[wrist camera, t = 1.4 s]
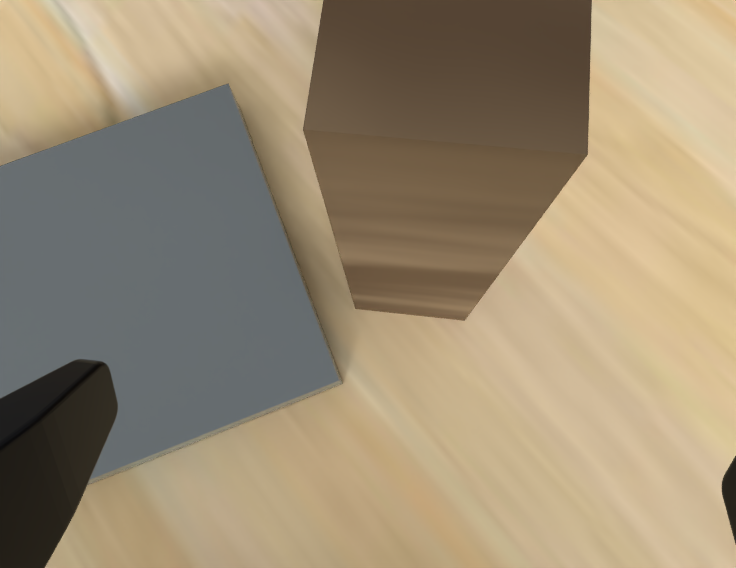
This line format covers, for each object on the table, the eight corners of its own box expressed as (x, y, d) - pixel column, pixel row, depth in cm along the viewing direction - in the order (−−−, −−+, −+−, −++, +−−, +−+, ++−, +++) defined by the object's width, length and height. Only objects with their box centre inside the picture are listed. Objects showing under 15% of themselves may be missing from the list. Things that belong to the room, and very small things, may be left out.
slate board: (342, 383, 20) (339, 380, 19) (-96, 558, 19) (-136, 569, 18) (238, 105, 23) (228, 83, 21) (-148, 246, 22) (-186, 233, 20)
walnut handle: (464, 320, 20) (587, 153, 8) (355, 308, 21) (302, 129, 8) (472, 217, 21) (594, -81, 9) (368, 207, 22) (339, -97, 9)
